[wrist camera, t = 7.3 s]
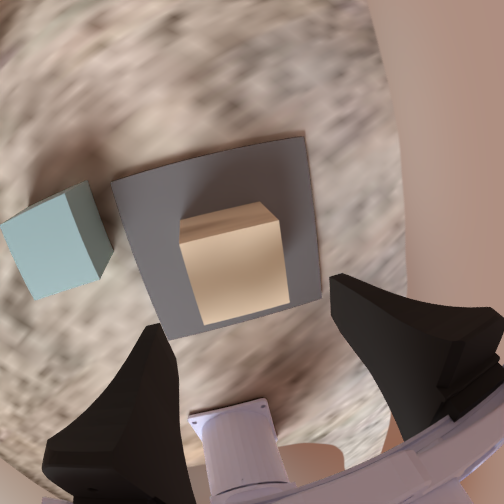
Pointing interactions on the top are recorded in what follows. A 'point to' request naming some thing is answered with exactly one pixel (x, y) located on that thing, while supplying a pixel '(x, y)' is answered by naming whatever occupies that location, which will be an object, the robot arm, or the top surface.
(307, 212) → the charcoal mat
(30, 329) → the top surface
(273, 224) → the birch brick
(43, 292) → the teal brick
